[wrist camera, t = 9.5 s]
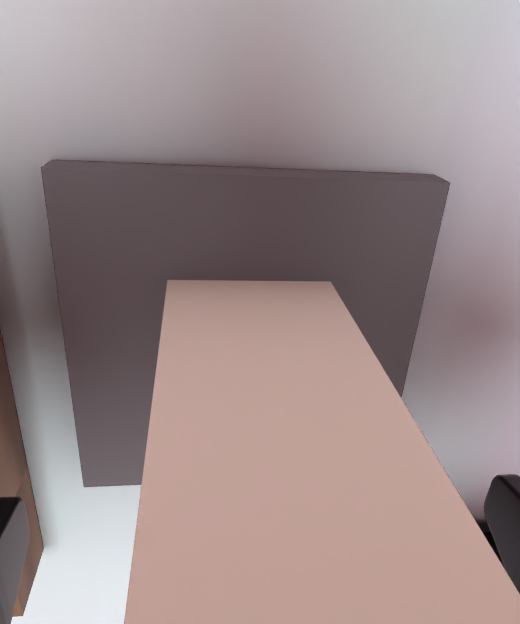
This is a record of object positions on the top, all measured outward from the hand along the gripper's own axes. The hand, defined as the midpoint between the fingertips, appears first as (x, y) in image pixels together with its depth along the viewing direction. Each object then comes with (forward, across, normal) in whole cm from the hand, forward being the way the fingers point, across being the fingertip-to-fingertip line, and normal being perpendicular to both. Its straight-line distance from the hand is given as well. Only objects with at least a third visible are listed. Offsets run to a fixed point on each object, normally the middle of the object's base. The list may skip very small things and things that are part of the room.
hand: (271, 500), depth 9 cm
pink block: (+6, 0, 0) cm, 6 cm away
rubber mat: (+6, 0, 0) cm, 7 cm away
